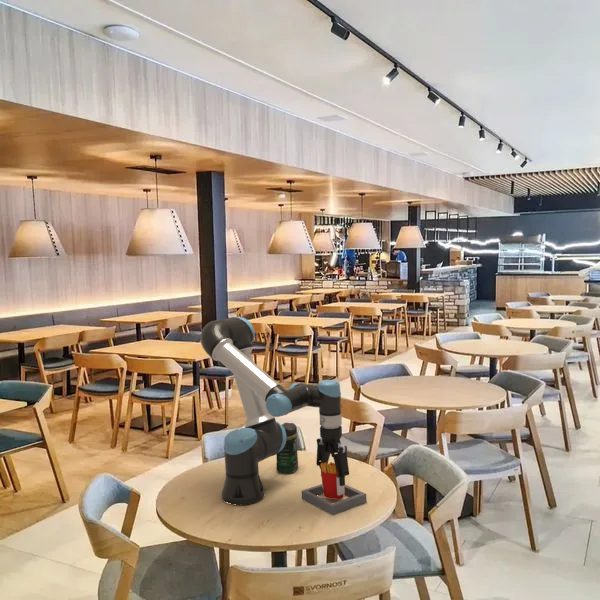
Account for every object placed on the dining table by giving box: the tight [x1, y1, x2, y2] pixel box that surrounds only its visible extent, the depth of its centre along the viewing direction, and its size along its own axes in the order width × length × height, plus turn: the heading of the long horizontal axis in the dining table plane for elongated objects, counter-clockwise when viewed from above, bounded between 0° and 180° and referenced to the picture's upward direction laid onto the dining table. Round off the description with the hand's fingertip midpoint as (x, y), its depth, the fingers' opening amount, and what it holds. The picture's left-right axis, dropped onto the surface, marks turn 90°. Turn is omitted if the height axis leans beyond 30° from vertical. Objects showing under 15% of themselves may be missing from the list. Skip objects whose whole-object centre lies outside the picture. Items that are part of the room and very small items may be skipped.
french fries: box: [320, 461, 345, 500], centre depth 200 cm, size 8×4×12 cm, turn 69°
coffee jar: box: [275, 422, 299, 475], centre depth 231 cm, size 10×8×19 cm
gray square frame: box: [301, 483, 367, 516], centre depth 200 cm, size 17×15×3 cm
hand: (333, 490), depth 200 cm, fingers closed on french fries, 8 cm apart
